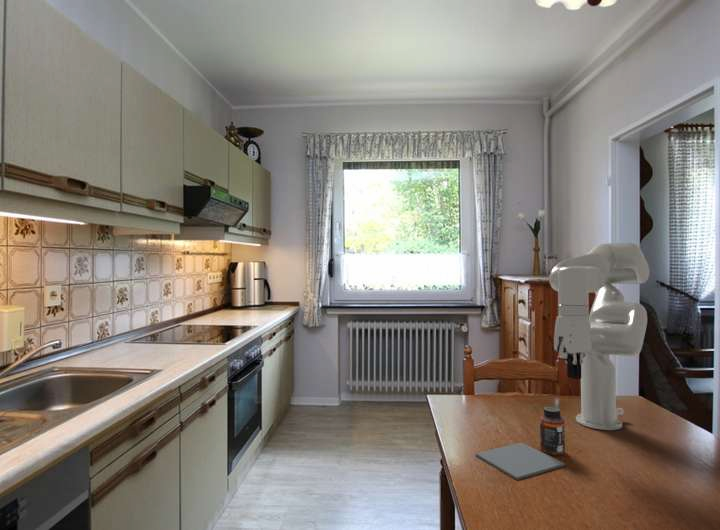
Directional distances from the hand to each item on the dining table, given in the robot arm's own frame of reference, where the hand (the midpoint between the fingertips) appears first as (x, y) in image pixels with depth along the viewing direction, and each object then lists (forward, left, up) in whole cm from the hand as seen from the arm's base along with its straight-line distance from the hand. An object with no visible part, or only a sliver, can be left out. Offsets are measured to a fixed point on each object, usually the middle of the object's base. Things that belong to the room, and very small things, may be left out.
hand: (574, 377), depth 114 cm
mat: (+21, 0, -19) cm, 28 cm away
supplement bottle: (+9, 0, -19) cm, 21 cm away
